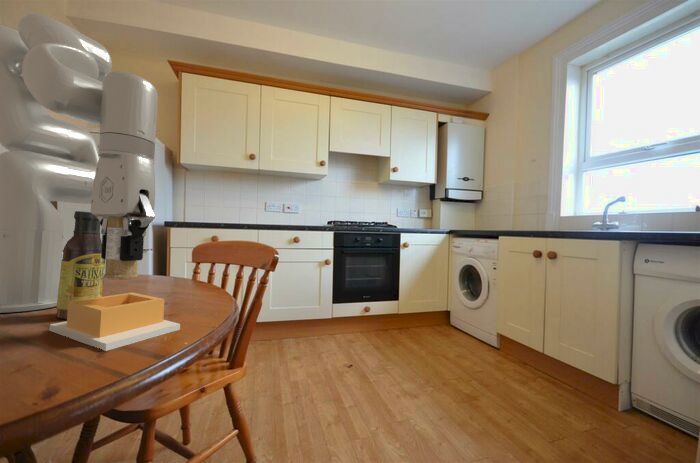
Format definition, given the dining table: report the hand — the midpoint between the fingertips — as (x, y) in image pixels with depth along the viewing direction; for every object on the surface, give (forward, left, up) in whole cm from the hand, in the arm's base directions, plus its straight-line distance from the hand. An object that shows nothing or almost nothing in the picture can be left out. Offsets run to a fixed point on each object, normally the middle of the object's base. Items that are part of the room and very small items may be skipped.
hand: (122, 258), depth 49 cm
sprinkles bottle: (0, 0, -4) cm, 4 cm away
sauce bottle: (-14, +1, -12) cm, 19 cm away
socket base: (0, 0, -12) cm, 12 cm away
